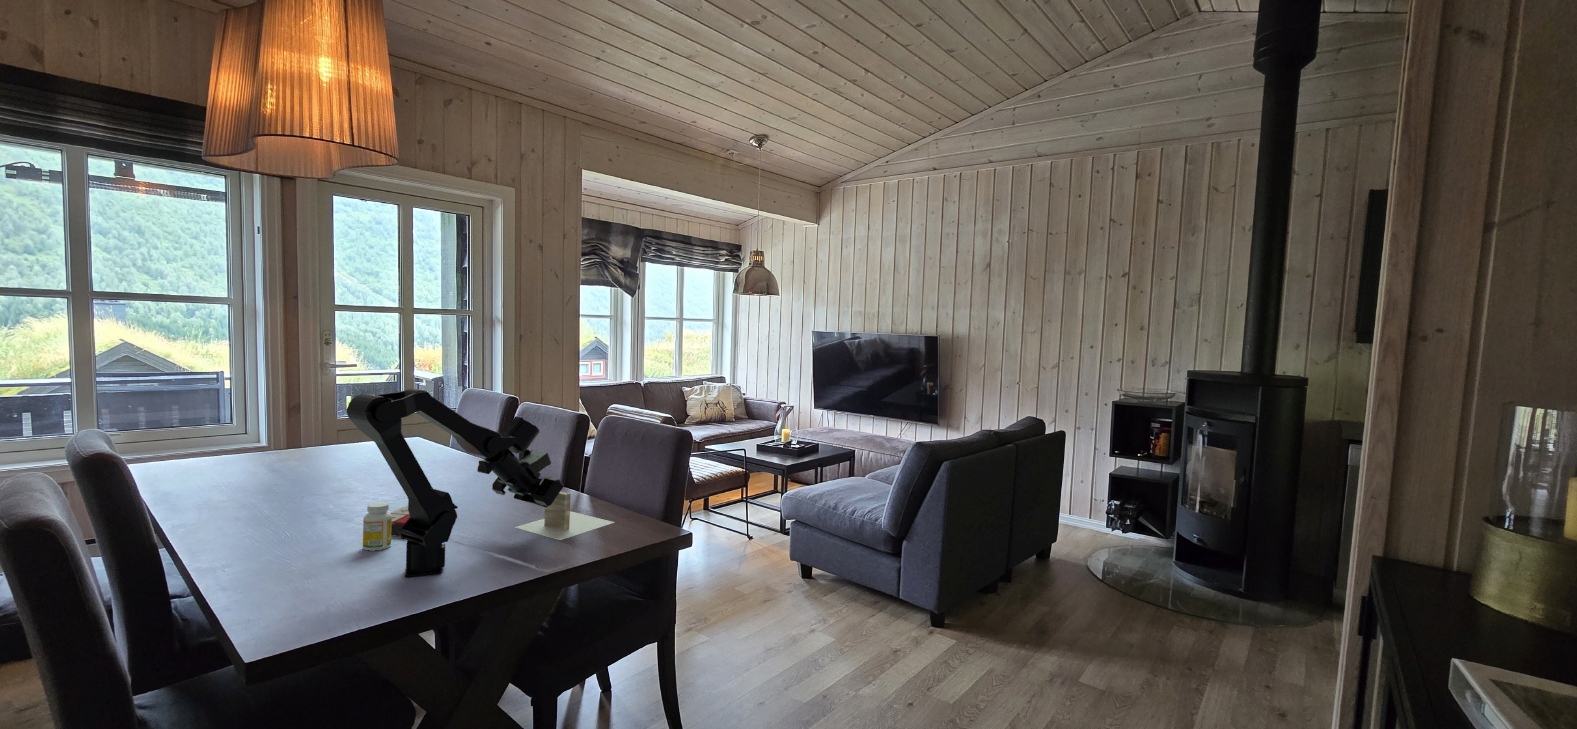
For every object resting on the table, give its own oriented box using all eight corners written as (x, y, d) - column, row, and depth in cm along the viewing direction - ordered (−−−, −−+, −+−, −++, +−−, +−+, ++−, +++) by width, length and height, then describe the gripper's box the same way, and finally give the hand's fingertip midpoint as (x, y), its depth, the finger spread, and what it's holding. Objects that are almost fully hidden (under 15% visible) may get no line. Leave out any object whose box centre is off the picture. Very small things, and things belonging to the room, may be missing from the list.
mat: (560, 542, 155) (560, 540, 155) (514, 529, 163) (514, 527, 163) (614, 524, 171) (614, 522, 171) (570, 513, 179) (570, 511, 178)
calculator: (370, 519, 155) (414, 500, 170) (370, 537, 155) (414, 516, 170) (413, 523, 153) (453, 503, 168) (413, 541, 154) (454, 520, 169)
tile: (564, 530, 162) (565, 494, 161) (544, 525, 165) (545, 490, 165) (569, 529, 163) (570, 493, 163) (549, 524, 167) (550, 488, 166)
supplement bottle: (372, 553, 143) (372, 509, 142) (357, 548, 145) (358, 505, 144) (396, 546, 147) (397, 503, 147) (381, 541, 150) (382, 500, 149)
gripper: (558, 445, 151) (592, 484, 161) (503, 435, 160) (539, 472, 170) (528, 486, 144) (566, 523, 155) (474, 473, 153) (513, 509, 164)
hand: (546, 505), depth 161 cm, fingers closed
